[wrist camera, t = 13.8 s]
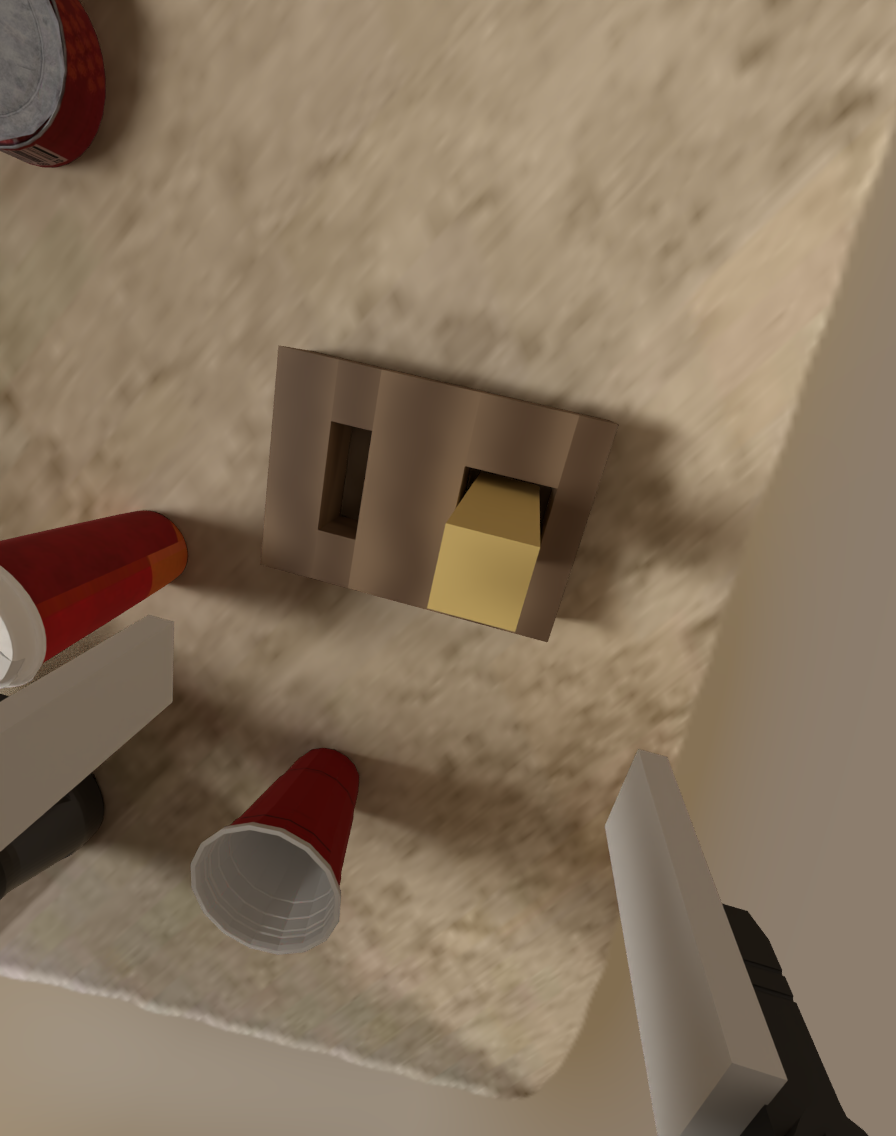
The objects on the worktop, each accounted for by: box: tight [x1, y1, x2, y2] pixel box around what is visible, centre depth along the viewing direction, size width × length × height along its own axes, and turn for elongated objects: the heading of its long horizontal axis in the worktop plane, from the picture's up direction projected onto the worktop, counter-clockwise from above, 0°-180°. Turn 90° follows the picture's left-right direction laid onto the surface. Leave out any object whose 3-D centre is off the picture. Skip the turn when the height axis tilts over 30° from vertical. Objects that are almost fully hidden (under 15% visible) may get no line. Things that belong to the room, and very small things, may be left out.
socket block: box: [261, 346, 618, 642], centre depth 33 cm, size 20×14×4 cm
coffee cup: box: [0, 511, 188, 689], centre depth 33 cm, size 8×8×15 cm
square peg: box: [427, 472, 540, 632], centre depth 28 cm, size 4×4×14 cm
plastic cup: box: [191, 748, 359, 955], centre depth 39 cm, size 11×11×12 cm
